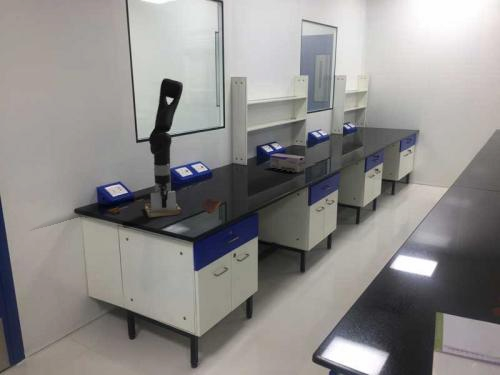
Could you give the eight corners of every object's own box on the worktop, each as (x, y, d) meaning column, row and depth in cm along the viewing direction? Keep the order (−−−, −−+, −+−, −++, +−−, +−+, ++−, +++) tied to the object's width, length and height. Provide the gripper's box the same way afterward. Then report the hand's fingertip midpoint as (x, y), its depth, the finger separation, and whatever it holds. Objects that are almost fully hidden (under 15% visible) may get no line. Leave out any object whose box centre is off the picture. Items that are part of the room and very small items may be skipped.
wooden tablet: (213, 212, 218) (194, 209, 219) (212, 216, 218) (193, 213, 219) (223, 198, 243) (206, 196, 244) (223, 202, 244) (206, 199, 245)
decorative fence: (105, 213, 221) (119, 216, 216) (104, 209, 220) (118, 212, 216) (138, 201, 242) (152, 203, 238) (138, 198, 242) (152, 200, 237)
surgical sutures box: (269, 168, 329) (270, 155, 327) (277, 166, 337) (278, 153, 335) (297, 173, 314) (297, 158, 311) (304, 170, 322) (305, 156, 319)
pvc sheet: (151, 214, 213) (150, 193, 210) (175, 211, 217) (174, 190, 214) (152, 215, 211) (151, 194, 208) (176, 212, 215) (175, 191, 213)
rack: (145, 211, 222) (144, 204, 221) (175, 208, 228) (175, 201, 227) (149, 220, 208) (148, 212, 207) (181, 216, 214) (181, 209, 213)
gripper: (172, 175, 204) (173, 209, 208) (167, 169, 217) (168, 202, 221) (156, 176, 201) (158, 211, 206) (152, 171, 214) (154, 203, 218)
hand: (163, 206), depth 213 cm, fingers closed on pvc sheet, 2 cm apart
